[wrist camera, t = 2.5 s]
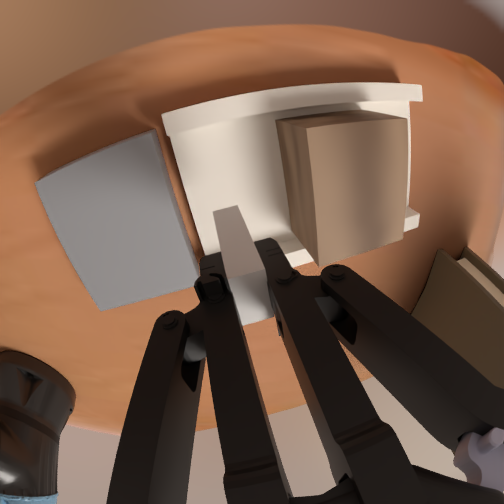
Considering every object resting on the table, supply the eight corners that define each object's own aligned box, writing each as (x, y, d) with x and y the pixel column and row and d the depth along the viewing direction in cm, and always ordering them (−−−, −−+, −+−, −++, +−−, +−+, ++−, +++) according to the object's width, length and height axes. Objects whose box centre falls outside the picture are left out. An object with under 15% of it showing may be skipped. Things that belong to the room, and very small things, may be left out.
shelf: (211, 270, 27) (215, 290, 24) (164, 112, 18) (161, 114, 16) (401, 215, 29) (418, 227, 26) (400, 83, 20) (421, 85, 18)
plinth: (106, 291, 25) (100, 311, 23) (49, 172, 18) (34, 182, 15) (198, 265, 26) (200, 284, 23) (155, 128, 19) (150, 132, 16)
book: (419, 338, 47) (487, 441, 24) (386, 349, 45) (457, 469, 22) (467, 247, 36) (573, 360, 13) (437, 249, 34) (560, 388, 11)
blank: (291, 230, 25) (318, 267, 20) (275, 119, 20) (306, 128, 15) (365, 210, 26) (402, 239, 21) (361, 109, 20) (407, 118, 15)
